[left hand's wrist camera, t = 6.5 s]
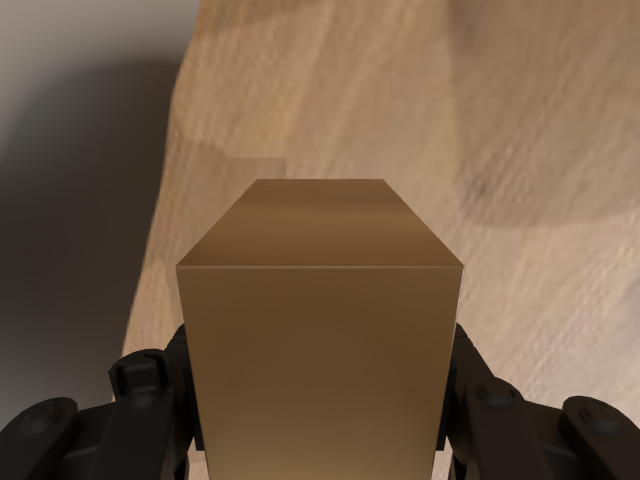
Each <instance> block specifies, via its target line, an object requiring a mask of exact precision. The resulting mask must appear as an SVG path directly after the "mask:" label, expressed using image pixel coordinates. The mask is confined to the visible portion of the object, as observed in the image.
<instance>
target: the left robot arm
mask: <svg viewBox="0 0 640 480" xmlns="http://www.w3.org/2000/svg"><path fill="white" fill-rule="evenodd" d="M108 373H109V377H110V380H111V384H112V388H113V392H114V396H115V399H116V400H115V402H112V403H109V404H106V405H101V406H97V407H93V408H89V409H85V410H81V411H79V409H78V406H77V403H76V402H75V401H74V400H73V399H71V398H66V397H59V398H52V399H48V400H45V401H42V402H39V403H37V404H35V405H33V406H31V407H29V408H28V409H26V410H24V411H22V412H21V413H20V414H19V415H18V416H16V417H15V418H14V419H13V420H11V422H10V423H9V424H8V425H7V426H6V427H5V428H4V429H3V430H2V431H1V432H0V480H188V477H189V458H188V453H187V452H188V450H189V447H190V445H191V442H192V439H193V437H194V440H195V445H196V451H205V450H204V443H203V437H202V431H201V425H200V418H199V412H198V406H197V399H196V393H195V387H194V381H193V374H192V368H191V362H190V356H189V349H188V343H187V337H186V331H185V324H182V325H181V326H180V327H179V328H178V330H177V331H176V333H175V334H174V336H173V339H171V340H170V342H169V344H168V345H167V348H165V350H164V351H163V350H159V349H144V350H140V351H136V352H133V353H131V354H129V355H127V356H125V357H123V358H121V359H120V360H119V361H117V362H116V363H115V364H114V365H113V366H112V367H111V369H110V370H109V371H108ZM446 435H447V437H448V440H449V442H450V445H451V447H452V450H453V453H452V458H451V464H450V469H449V475H448V480H640V429H639V428H638V427H637V426H636V425H635V424H634V423H633V422H632V421H631V420H630V419H629V418H628V417H626V416H625V415H624V414H623V413H621V412H620V411H619V410H618V409H616V408H614V407H612V406H610V405H609V404H607V403H605V402H602V401H600V400H597V399H594V398H591V397H585V396H573V397H569V398H568V399H566V400H565V401H564V403H563V406H562V409H557V408H553V407H549V406H545V405H541V404H536V403H533V402H530V401H526V400H524V398H523V397H522V395H521V393H520V392H519V391H518V390H517V389H516V388H515V387H513V386H512V385H511V384H510V383H508V382H506V381H504V380H502V379H500V378H497V377H494V375H493V374H492V372H491V371H490V369H489V367H488V366H487V364H486V363H485V361H484V360H483V358H482V357H481V355H480V354H479V352H478V351H477V349H476V348H475V347H474V346H473V343H472V342H471V340H470V339H469V338H468V336H467V334H466V333H465V331H464V330H463V328H462V327H461V325H459V324H458V323H457V322H456V328H455V334H454V340H453V346H452V353H451V359H450V365H449V371H448V377H447V384H446V390H445V396H444V402H443V409H442V415H441V421H440V427H439V433H438V440H437V446H436V451H444V447H445V441H446Z"/></svg>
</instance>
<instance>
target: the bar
mask: <svg viewBox="0 0 640 480" xmlns="http://www.w3.org/2000/svg"><path fill="white" fill-rule="evenodd" d="M464 272H465V267H464V265H463V264H462V263H461V262H460V261H459V260H458V258H457V257H456V256H455V255H454V254H453V253H452V252H451V251H450V250H449V249H448V248H447V247H446V246H445V245H444V244H443V242H442V241H441V240H440V239H439V238H438V237H437V236H436V235H435V234H434V233H433V232H432V231H431V230H430V229H429V228H428V227H427V225H426V224H425V223H424V222H423V221H422V220H421V219H420V218H419V217H418V216H417V215H416V214H415V213H414V212H413V211H412V210H411V208H410V207H409V206H408V205H407V204H406V203H405V202H404V201H403V200H402V199H401V198H400V197H399V196H398V195H397V194H396V193H395V191H394V190H393V189H392V188H391V187H390V186H389V185H388V184H387V183H386V182H385V181H384V180H383V179H257V180H256V181H255V182H254V183H253V184H252V185H251V186H250V187H249V189H248V190H247V191H246V192H245V193H244V194H243V195H242V196H241V197H240V198H239V199H238V200H237V201H236V202H235V203H234V205H233V206H232V207H231V208H230V209H229V210H228V211H227V212H226V213H225V214H224V215H223V216H222V217H221V218H220V219H219V221H218V222H217V223H216V224H215V225H214V226H213V227H212V228H211V229H210V230H209V231H208V232H207V233H206V234H205V236H204V237H203V238H202V239H201V240H200V241H199V242H198V243H197V244H196V245H195V246H194V247H193V248H192V249H191V250H190V252H189V253H188V254H187V255H186V256H185V257H184V258H183V259H182V260H181V261H180V262H179V263H178V264H177V265H176V274H177V280H178V287H179V293H180V299H181V306H182V312H183V318H184V324H185V331H186V337H187V343H188V349H189V356H190V362H191V368H192V374H193V381H194V387H195V393H196V399H197V406H198V412H199V418H200V425H201V431H202V437H203V443H204V450H205V456H206V462H207V468H208V475H209V480H431V477H432V471H433V465H434V458H435V452H436V446H437V440H438V433H439V427H440V421H441V415H442V409H443V402H444V396H445V390H446V384H447V377H448V371H449V365H450V359H451V353H452V346H453V340H454V334H455V328H456V321H457V315H458V309H459V303H460V297H461V290H462V284H463V278H464Z"/></svg>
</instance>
